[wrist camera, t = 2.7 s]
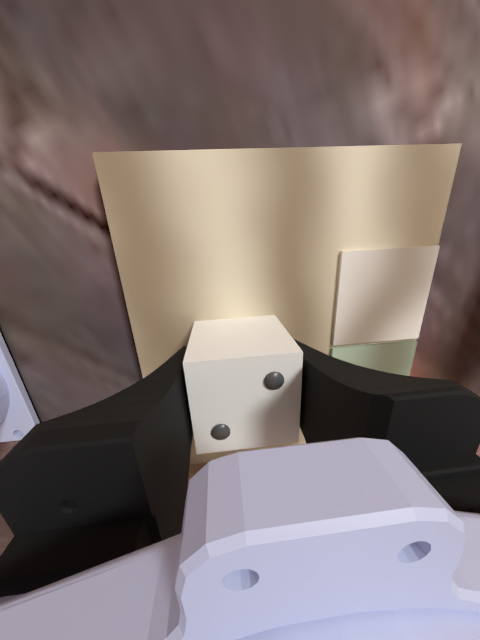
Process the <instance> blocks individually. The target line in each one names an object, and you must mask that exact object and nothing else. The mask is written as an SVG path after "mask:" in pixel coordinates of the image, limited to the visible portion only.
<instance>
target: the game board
mask: <svg viewBox="0 0 480 640" xmlns="http://www.w3.org/2000/svg"><path fill="white" fill-rule="evenodd" d="M461 145H462V144H424V145H382V146H339V147H297V148H254V149H212V150H169V151H127V152H92V154H93V159H94V163H95V167H96V172H97V176H98V181H99V185H100V190H101V194H102V199H103V203H104V207H105V212H106V216H107V221H108V225H109V230H110V234H111V239H112V243H113V247H114V252H115V256H116V261H117V265H118V270H119V274H120V279H121V283H122V287H123V292H124V296H125V301H126V305H127V310H128V314H129V319H130V323H131V327H132V332H133V336H134V341H135V345H136V350H137V354H138V359H139V363H140V367H141V372H142V376H143V378H145V377H146V376H148V375H149V374H150V373H152V372H153V371H154V370H156V369H157V368H158V367H159V366H161V365H162V364H163V363H165V362H166V361H167V360H168V359H169V358H170V357H172V356H173V355H174V354H175V353H176V352H177V351H178V350H179V349H181V348H182V347H183V346H188V342H189V338H190V335H191V331H192V328H193V324H194V321H203V320H216V319H229V318H242V317H255V316H268V315H275V316H276V317H277V318H278V320H279V321H280V322H281V324H282V325H283V326H284V327H285V329H286V330H287V331H288V333H289V334H290V335H291V337H292V338H293V339H295V340H297V341H299V342H301V343H303V344H305V345H307V346H309V347H312V348H314V349H316V350H318V351H320V352H322V353H325V354H327V355H329V356H332V357H334V358H337V359H340V360H342V361H346V362H349V363H352V364H355V365H358V366H362V367H366V368H370V369H374V370H378V371H383V372H388V373H393V374H399V375H405V376H409V375H410V371H411V367H412V362H413V358H414V354H415V350H416V345H417V341H416V338H418V337H419V333H420V328H421V324H422V320H423V316H424V311H425V307H426V303H427V299H428V294H429V290H430V286H431V282H432V277H433V273H434V269H435V265H436V260H437V256H438V252H439V248H440V246H438V244H439V239H440V235H441V231H442V226H443V222H444V218H445V213H446V209H447V205H448V201H449V196H450V192H451V188H452V183H453V179H454V175H455V170H456V166H457V162H458V157H459V153H460V149H461ZM298 444H306V441H305V438H304V436H303V433H302V431H301V429H300V427H299V442H298V443H290V444H281V445H273V446H265V447H256V448H248V449H239V450H231V451H222V452H214V453H205V454H196V447H195V441H194V434H193V438H192V444H191V453H190V465H189V478H188V485H189V480H190V479H191V478H192V477H193V476H194V475H195V474H196V473H197V472H199V471H200V470H201V469H202V468H203V467H204V466H205V465H206V464H207V463H208V462H210V461H211V460H214V459H217V458H220V457H223V456H226V455H229V454H232V453H235V452H240V451H248V450H256V449H265V448H273V447H281V446H290V445H298Z"/></svg>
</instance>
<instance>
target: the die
mask: <svg viewBox="0 0 480 640" xmlns="http://www.w3.org/2000/svg"><path fill="white" fill-rule="evenodd" d="M302 367H303V351H302V350H301V348H300V347H299V346H298V344H297V343H296V342H295V341H294V339H293V338H292V337H291V335H290V334H289V333H288V331H287V330H286V329H285V327H284V326H283V325H282V324H281V322H280V321H279V320H278V318H277V317H276V316H275V315H268V316H255V317H242V318H229V319H216V320H203V321H194V324H193V328H192V331H191V335H190V338H189V342H188V346H187V349H186V353H185V356H184V360H183V368H184V375H185V381H186V388H187V395H188V401H189V408H190V414H191V421H192V427H193V434H194V441H195V447H196V454H205V453H214V452H222V451H231V450H239V449H248V448H256V447H265V446H273V445H281V444H290V443H298V442H299V427H300V407H301V387H302Z"/></svg>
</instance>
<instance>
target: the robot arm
mask: <svg viewBox="0 0 480 640" xmlns="http://www.w3.org/2000/svg"><path fill="white" fill-rule="evenodd" d="M294 341H295V342H296V343H297V344H298V346H299V347H300V348H301V350H302V351H303V367H302V387H301V407H300V429H301V431H302V433H303V436H304V438H305V441H306V444H298V445H290V446H281V447H273V448H265V449H256V450H248V451H240V452H235V453H232V454H229V455H226V456H223V457H220V458H217V459H214V460H211V461H210V462H208V463H207V464H206V465H205V466H204V467H203V468H202V469H201V470H200V471H199V472H197V473H196V474H195V475H194V476H193V477H192V478H191V479H190V480H189V485H188V478H189V465H190V453H191V444H192V438H193V427H192V421H191V414H190V408H189V401H188V395H187V388H186V381H185V375H184V368H183V360H184V356H185V353H186V349H187V346H183V347H182V348H181V349H179V350H178V351H177V352H176V353H175V354H174V355H173V356H172V357H170V358H169V359H168V360H167V361H166V362H165V363H163V364H162V365H161V366H159V367H158V368H157V369H156V370H154V371H153V372H152V373H150V374H149V375H148V376H146V377H145V378H143V379H142V380H140V381H138V382H137V383H135V384H133V385H132V386H130V387H128V388H126V389H124V390H122V391H120V392H118V393H116V394H114V395H112V396H111V397H108V398H106V399H104V400H102V401H100V402H97V403H95V404H93V405H90V406H88V407H85V408H83V409H80V410H77V411H75V412H72V413H69V414H66V415H63V416H60V417H57V418H54V419H51V420H48V421H45V422H42V423H40V422H39V419H38V417H37V415H36V413H35V410H34V408H33V406H32V403H31V401H30V399H29V397H28V394H27V392H26V390H25V387H24V385H23V383H22V380H21V378H20V376H19V374H18V371H17V369H16V367H15V364H14V362H13V360H12V358H11V355H10V353H9V351H8V348H7V346H6V344H5V342H4V339H3V337H2V335H1V332H0V442H8V441H17V440H20V441H19V442H18V443H17V444H16V445H15V446H14V447H13V448H12V449H11V451H10V452H9V453H8V454H7V455H6V456H5V457H4V458H3V459H2V460H1V461H0V513H1V514H2V516H3V518H4V519H5V521H6V522H7V524H8V526H9V527H10V529H11V531H12V532H13V534H14V537H13V539H12V540H11V542H10V543H9V545H8V546H7V548H6V549H5V551H4V552H3V553H2V555H1V556H0V640H480V457H479V456H478V455H476V452H477V449H478V447H479V444H480V397H479V396H478V395H476V394H475V393H473V392H471V391H470V390H468V389H466V388H465V387H463V386H461V385H460V384H458V383H456V382H454V381H449V380H439V379H429V378H419V377H411V376H405V375H399V374H393V373H388V372H383V371H378V370H374V369H370V368H366V367H362V366H358V365H355V364H352V363H349V362H346V361H342V360H340V359H337V358H334V357H332V356H329V355H327V354H325V353H322V352H320V351H318V350H316V349H314V348H312V347H309V346H307V345H305V344H303V343H301V342H299V341H297V340H295V339H294Z"/></svg>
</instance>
